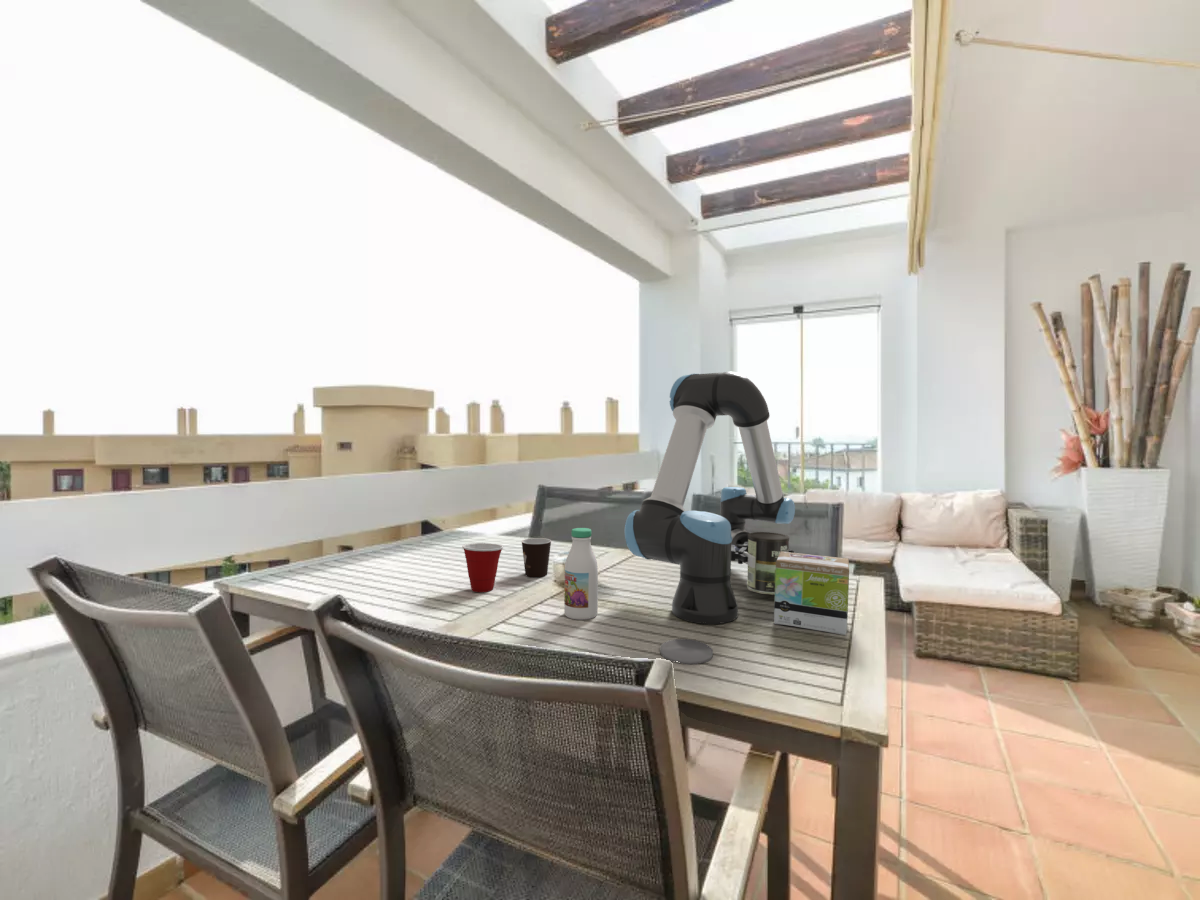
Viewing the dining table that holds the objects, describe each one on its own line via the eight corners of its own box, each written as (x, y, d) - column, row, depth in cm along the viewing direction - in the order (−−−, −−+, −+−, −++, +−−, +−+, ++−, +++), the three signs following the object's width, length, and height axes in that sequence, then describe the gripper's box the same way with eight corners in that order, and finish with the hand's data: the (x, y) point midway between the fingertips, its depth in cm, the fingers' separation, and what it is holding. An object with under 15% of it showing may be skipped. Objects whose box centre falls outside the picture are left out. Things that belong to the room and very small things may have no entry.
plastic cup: (512, 587, 147) (512, 543, 147) (483, 597, 138) (483, 551, 138) (482, 581, 153) (482, 538, 153) (453, 590, 144) (453, 545, 143)
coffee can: (796, 591, 140) (797, 536, 140) (770, 597, 134) (771, 540, 134) (764, 581, 149) (765, 530, 148) (738, 587, 143) (739, 533, 143)
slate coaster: (666, 665, 99) (666, 660, 99) (655, 643, 109) (655, 639, 109) (719, 663, 100) (719, 659, 100) (704, 642, 110) (704, 638, 110)
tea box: (773, 625, 120) (774, 559, 120) (777, 611, 129) (779, 550, 129) (847, 636, 114) (849, 566, 114) (847, 621, 123) (848, 556, 123)
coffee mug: (549, 578, 156) (549, 544, 156) (519, 578, 156) (519, 543, 156) (553, 568, 168) (553, 536, 167) (525, 568, 168) (525, 535, 167)
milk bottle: (581, 607, 131) (582, 525, 131) (604, 615, 126) (605, 529, 125) (557, 614, 126) (557, 528, 125) (579, 623, 121) (580, 533, 120)
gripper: (780, 556, 160) (817, 576, 138) (705, 557, 158) (730, 577, 136) (780, 531, 160) (817, 547, 138) (705, 531, 158) (731, 547, 136)
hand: (774, 562), depth 137 cm, fingers closed on coffee can, 10 cm apart
